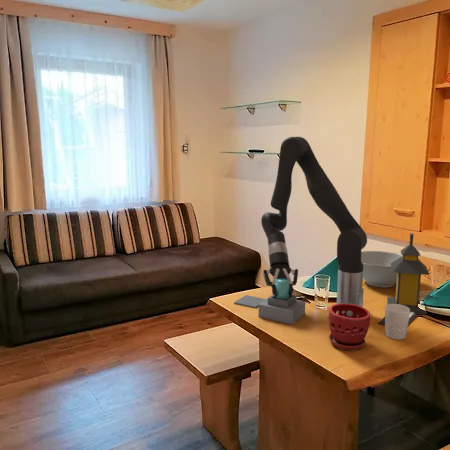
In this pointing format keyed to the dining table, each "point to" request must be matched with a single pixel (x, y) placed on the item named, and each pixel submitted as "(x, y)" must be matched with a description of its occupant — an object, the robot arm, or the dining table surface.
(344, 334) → the plant pot
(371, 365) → the dining table surface
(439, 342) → the dining table surface
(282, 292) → the teal cylindrical peg
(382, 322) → the chocolate bar
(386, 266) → the decorative bowl
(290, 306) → the gray socket block
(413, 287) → the lantern
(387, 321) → the white cup
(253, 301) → the mat
